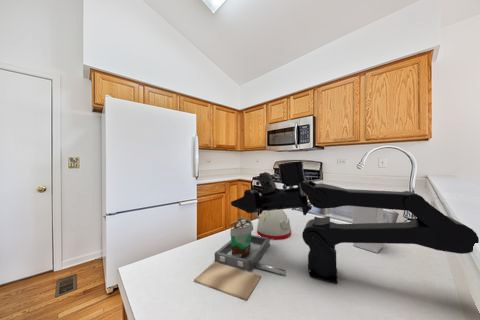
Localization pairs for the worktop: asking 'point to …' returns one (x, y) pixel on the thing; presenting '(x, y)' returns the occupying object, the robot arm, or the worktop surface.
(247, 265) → the case
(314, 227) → the robot arm
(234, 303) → the worktop surface
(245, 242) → the food container
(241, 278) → the pad
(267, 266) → the rod
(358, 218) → the milk carton
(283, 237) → the white knit beanie
